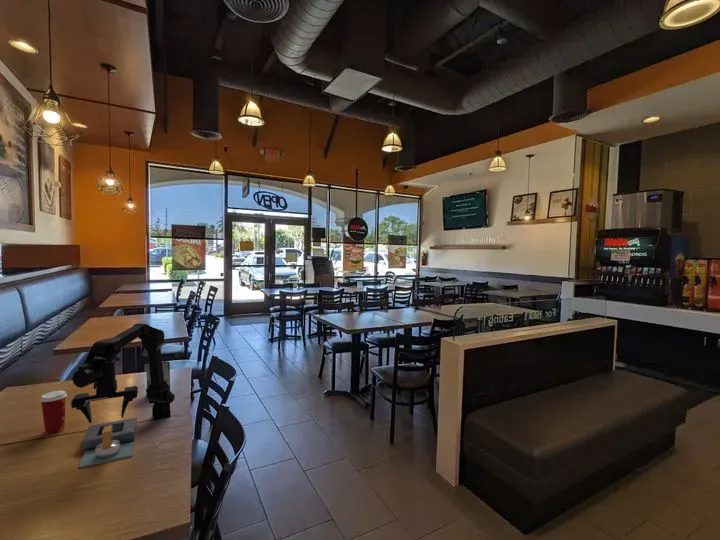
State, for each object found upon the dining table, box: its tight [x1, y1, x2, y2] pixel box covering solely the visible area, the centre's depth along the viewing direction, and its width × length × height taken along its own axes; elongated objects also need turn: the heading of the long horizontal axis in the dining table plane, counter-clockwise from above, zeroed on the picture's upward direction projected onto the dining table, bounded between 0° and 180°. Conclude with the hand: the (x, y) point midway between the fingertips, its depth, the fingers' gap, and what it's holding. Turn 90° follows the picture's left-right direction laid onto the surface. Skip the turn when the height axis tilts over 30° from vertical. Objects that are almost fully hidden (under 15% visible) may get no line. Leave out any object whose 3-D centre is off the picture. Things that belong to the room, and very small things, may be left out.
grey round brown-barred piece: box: [95, 425, 120, 459], centre depth 127 cm, size 7×7×9 cm
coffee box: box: [145, 360, 171, 390], centre depth 181 cm, size 9×6×16 cm
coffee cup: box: [39, 390, 68, 435], centre depth 144 cm, size 8×8×15 cm
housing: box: [81, 417, 138, 454], centre depth 138 cm, size 16×13×4 cm
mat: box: [78, 441, 135, 469], centre depth 127 cm, size 15×10×1 cm, turn 118°
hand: (106, 420), depth 127 cm, fingers open, 9 cm apart
